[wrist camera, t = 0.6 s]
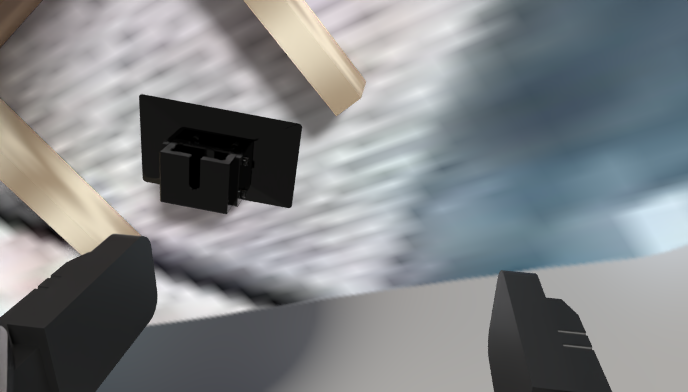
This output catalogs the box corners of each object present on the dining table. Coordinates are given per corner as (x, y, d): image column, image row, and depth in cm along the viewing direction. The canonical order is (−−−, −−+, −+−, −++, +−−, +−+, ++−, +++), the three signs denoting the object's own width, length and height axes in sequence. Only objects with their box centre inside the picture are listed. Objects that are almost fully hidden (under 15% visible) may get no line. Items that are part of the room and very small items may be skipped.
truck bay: (-60, 69, 30) (-113, 85, 27) (159, -190, 23) (120, -208, 20) (133, 254, 35) (106, 286, 32) (366, 81, 28) (360, 101, 25)
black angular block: (334, 111, 30) (323, 142, 25) (318, 223, 33) (306, 266, 29) (116, 72, 30) (69, 96, 26) (122, 187, 33) (82, 225, 29)
